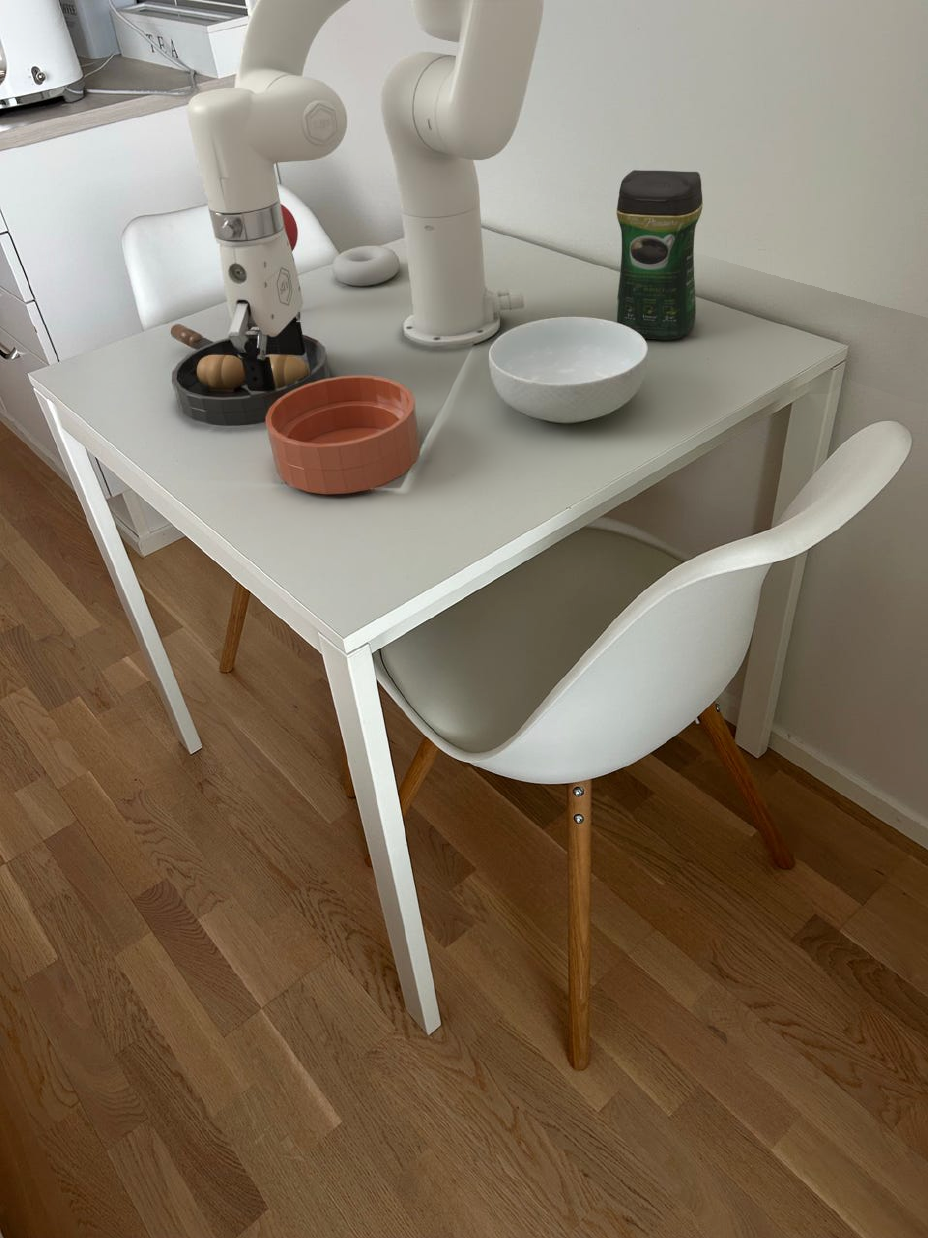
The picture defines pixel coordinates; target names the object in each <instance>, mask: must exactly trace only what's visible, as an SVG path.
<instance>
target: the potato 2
mask: <svg viewBox="0 0 928 1238" xmlns="http://www.w3.org/2000/svg"><path fill="white" fill-rule="evenodd" d="M265 357H270V362H271V367H272V372H273V377H274V382H275V387H276V388H275V389H279V388H282V387H284V386H286V385H289V384H291V383H293V382H296V381H298V380H299V379H301V378H303V377H304V376H306V375H307V374H309V369H308V366H307V364H306V362H305V361H304V360H303V359H301V358H300V357H298V356H295V355H278V354H270V355H266V356H265Z"/></svg>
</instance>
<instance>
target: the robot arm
mask: <svg viewBox="0 0 928 1238" xmlns="http://www.w3.org/2000/svg"><path fill="white" fill-rule="evenodd" d="M350 1H351V0H256V2H255V5H254V7H253V9H252V11H251V14H250V17H249V18H248V22H247V24H246V28H245V30H244V35H243V39H242V43H241V48H240V53H239V58H238V63H237V67H236V73H235V79H234V86H233V87H224V88H216V89H210V90H205V91H202V92H199V93H197V94H195V95H194V96H192V97H191V99H190V100H189V101H188V104H187V108H186V114H187V119H188V125H189V128H190V134H191V138H192V143H193V147H194V151H195V155H196V161H197V164H198V169H199V173H200V178H201V182H202V186H203V191H204V195H205V199H206V200H205V201H206V203H207V208H208V213H209V217H210V222H211V226H212V230H213V231H212V232H213V235H214V240H215V242H216V244H219V254H220V255H219V256H220V263H221V271H222V279H223V284H224V292H225V297H226V302H227V307H228V310H229V316H230V319H231V322H230V326H229V328H228V332H227V335H228V336H227V337H228V338H229V339H230V340H231V342H232V344H233V345H234V350H235V352H236V353H237V354H238V357H239V359H240V360H242V364H243V369H244V373H245V378H246V382H247V387H248V389H249V390H250V391H262V392H268V391H272V390H275V388H276V387H275V382H274V377H273V372H272V367H271V362H270V357H265V355H266V345H267V335H269V336H270V337H275V336H276V337H277V342H278V347H279V352H280V354H282V355H304V354H305V352H306V350H305V345H304V339H303V335H304V334H303V329H302V328H303V327H302V324H301V317H302V316H301V310H302V308H303V304H304V299H303V294H302V289H301V284H300V279H299V275H298V270H297V265H296V263H295V258H294V253H293V251H292V250H291V246H290V243H289V240H288V237H287V234H286V231H285V226H284V220H283V214H282V209H281V204H282V203H281V197H280V192H279V187H278V181H277V176H276V170H275V164H277V163H278V164H279V163H290V162H306V161H307V162H309V161H314V160H319V159H321V158H324V157H327V156H329V155H331V154H332V153H333V152H334V151H336V150H337V149H338V147H340V145H341V144H342V142H343V140H344V138H345V135H346V133H347V129H348V115H347V110H346V106H345V104H344V102H343V100H342V98H341V96H339V94H338V93H337V92H336V91H335V90H334V89H333V88H332V87H330V86H329V85H327V84H326V83H324V82H323V81H320V80H317V79H316V78H315V79H314V78H313V77H308V76H303V73H304V69H305V65H306V61H307V58H308V56H309V52H310V50H311V47H312V45H313V44H314V41H315V38H316V37H317V35H318V34H319V31H320V30H321V29H322V28H323V26H324V25H325V23H326V22H327V21H328V20H329V19H330V18H331V17H332V16H333V15H334V14H335V13H337V11H338V10H340V9H341V8H342V7H344V6H345V5H347V3H349V2H350ZM544 3H545V2H544V0H410V4H411V12H412V15H413V18H414V21H415V23H416V24H417V25H418V27H419V28H420V29H421V30H422V31H424V33H426V34H428V35H429V36H431V37H432V38H435V39H438V40H442V41H448V42H453V43H457V49H456V55H454V54H453V55H452V54H446V53H445V54H444V53H438V52H432V51H419V52H418V51H417V52H413V53H410V54H407V55H405V56H403V57H401V58H399V59H398V60H397V61H396V62H395V63H394V64H393V65H392V66H391V67H390V68H389V70H388V72H387V73H386V75H385V78H384V80H383V83H382V85H381V92H380V110H381V111H380V112H381V117H382V122H383V127H384V131H385V135H386V138H387V140H388V144H389V148H390V151H391V155H392V159H393V163H394V168H395V173H396V180H397V187H398V193H399V200H400V210H401V219H402V220H401V221H402V227H403V228H402V229H403V235H404V244H405V251H406V253H405V254H406V261H407V269H408V270H407V271H408V278H409V285H410V286H409V287H410V295H411V302H412V311H413V313H412V314H410V315H408V316H407V318H405V320H404V321H403V324H402V328H403V334H404V336H405V337H406V338H407V339H409V340H410V341H412V342H414V343H417V344H420V345H424V346H429V347H454V346H462V345H468V344H472V343H473V345H475V344H479V343H481V342H484V341H486V340H488V339H490V338H491V337H493V336H494V335H495V334H496V333H497V331H498V330H499V329H500V326H501V317H500V314H501V312H502V311H513V310H518V309H523V308H524V305H525V303H524V302H525V301H524V296H523V293H522V292H517V293H516V292H515V293H510V292H509V289H502V290H498V291H493V292H491V290H489V289H488V288H487V285H486V274H485V259H484V246H483V243H484V242H483V231H482V230H483V229H482V215H481V197H480V185H479V179H478V173H477V170H476V166H475V162H474V161H485V160H489V159H491V158H494V157H495V156H497V155H499V153H500V152H502V151H503V150H504V149H505V147H506V146H507V145H508V144H509V142H510V140H511V139H512V137H513V135H514V132H515V130H516V128H517V125H518V122H519V119H520V116H521V112H522V108H523V104H524V100H525V96H526V93H527V87H528V84H529V83H528V82H529V78H530V76H531V75H530V74H531V70H532V65H533V60H534V57H535V52H536V48H537V44H538V40H539V35H540V32H541V31H540V30H541V25H542V20H543V14H544ZM253 328H258V329H253ZM249 338H258V343H257V347H256V346H255V345H254V344H253V343H251V342H248V340H249Z"/></svg>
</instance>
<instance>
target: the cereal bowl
mask: <svg viewBox="0 0 928 1238" xmlns="http://www.w3.org/2000/svg"><path fill="white" fill-rule="evenodd" d="M648 358H649V345H648V343H647V342H646V340H645V338H643V337H642V336H641V335H640V334H639V333H637V332H636V331H634V330H633V329H631V328H629V327H627V326H625V325H622V324H619V323H616V321H612V320H608V319H603V318H598V317H597V318H596V317H587V316H560V317H551V318H543V319H539V320H534V321H529V322H527V323H523V324H521V325H518V326H515V327H513V328H510V329H509V330H507V331H505V332H504V333H502V334H501V335H500V336H498V337H497V338H496V339H495V340H494V341H493V343H492V344H491V346H490V348H489V351H488V363H489V367H488V368H489V371H490V376H491V381H492V383H493V386H494V388H495V391H496V392H497V393H498V395H499V397H501V399H502V401H504V402H505V403H506V404H507V405H509V407H510V408H513V410H515V411H516V412H519V413H520V414H523V415H526V416H528V417H530V418H535V419H539V420H543V421H546V422H551V423H555V424H576V423H577V424H578V423H582V422H585V421H589V420H593V419H597V418H600V417H603V416H606V415H609V414H610V413H613V412H614V411H617V410H618V409H621V407H623V406H624V405H625V404H627V403H628V402H629V401H631V399H632V398H633V397H634V396H635V395H636V394H637V392H638V391H639V389H640V388H641V386H642V383H643V382H644V378H645V376H646V371H647V367H648V366H647V365H648Z"/></svg>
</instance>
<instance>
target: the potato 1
mask: <svg viewBox="0 0 928 1238" xmlns="http://www.w3.org/2000/svg"><path fill="white" fill-rule="evenodd" d="M197 376H198V378H199V380H200V382H201V383H202V384H203V385H204V386H206V387H208V388H210V390H211V391H225V392H233V391H234V390H235V389H236V388H238V387H240V386H241V385H242V384H243V383H244V381H245V379H246V378H245V373H244V369H243V364H242V361H241V360H240V359H239V358H237V357H235V356H232V355H208V356H205V357H204V358H202V359H201V360H200V362H199V364H198V366H197Z"/></svg>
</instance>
